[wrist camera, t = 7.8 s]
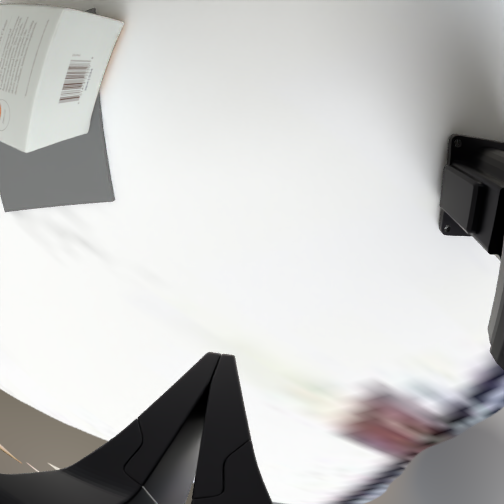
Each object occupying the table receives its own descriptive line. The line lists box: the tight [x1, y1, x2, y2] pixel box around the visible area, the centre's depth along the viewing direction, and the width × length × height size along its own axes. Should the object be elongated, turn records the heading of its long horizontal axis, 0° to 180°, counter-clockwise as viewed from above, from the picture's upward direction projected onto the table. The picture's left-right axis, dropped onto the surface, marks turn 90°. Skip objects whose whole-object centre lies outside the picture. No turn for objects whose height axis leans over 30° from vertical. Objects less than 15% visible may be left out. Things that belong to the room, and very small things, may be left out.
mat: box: [0, 8, 115, 212], centre depth 19 cm, size 13×14×1 cm
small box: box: [0, 4, 124, 153], centre depth 13 cm, size 8×6×13 cm
